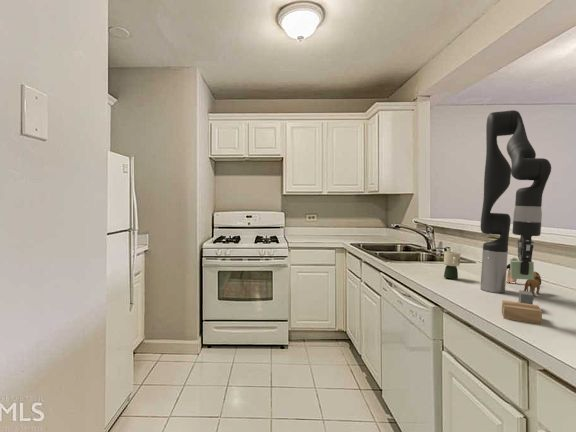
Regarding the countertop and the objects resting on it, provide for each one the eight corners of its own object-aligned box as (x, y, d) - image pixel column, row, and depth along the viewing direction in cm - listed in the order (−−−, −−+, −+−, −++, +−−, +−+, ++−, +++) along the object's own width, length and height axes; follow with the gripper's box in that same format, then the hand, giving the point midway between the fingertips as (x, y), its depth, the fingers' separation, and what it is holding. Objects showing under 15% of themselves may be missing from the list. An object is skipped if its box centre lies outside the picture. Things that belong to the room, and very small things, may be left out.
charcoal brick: (518, 304, 129) (519, 290, 129) (529, 306, 128) (530, 291, 127) (520, 309, 124) (521, 293, 124) (532, 310, 122) (533, 295, 122)
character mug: (461, 281, 165) (463, 254, 165) (445, 280, 167) (447, 253, 166) (455, 276, 176) (457, 251, 176) (440, 275, 178) (441, 250, 177)
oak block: (501, 311, 120) (502, 300, 120) (536, 317, 115) (537, 305, 115) (503, 318, 113) (504, 306, 112) (541, 324, 108) (542, 311, 108)
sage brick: (511, 278, 113) (511, 261, 113) (510, 276, 116) (510, 260, 116) (534, 279, 111) (533, 262, 111) (532, 277, 114) (531, 261, 114)
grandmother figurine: (504, 283, 166) (506, 256, 165) (502, 281, 169) (503, 255, 169) (523, 284, 164) (525, 258, 163) (519, 283, 168) (521, 256, 167)
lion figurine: (526, 290, 153) (527, 269, 153) (541, 292, 150) (542, 271, 149) (521, 296, 142) (523, 274, 142) (537, 299, 139) (539, 276, 138)
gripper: (511, 219, 121) (507, 268, 121) (515, 220, 108) (512, 275, 109) (537, 220, 117) (533, 271, 118) (545, 222, 105) (541, 279, 105)
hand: (523, 273), depth 113 cm, fingers closed on sage brick, 3 cm apart
